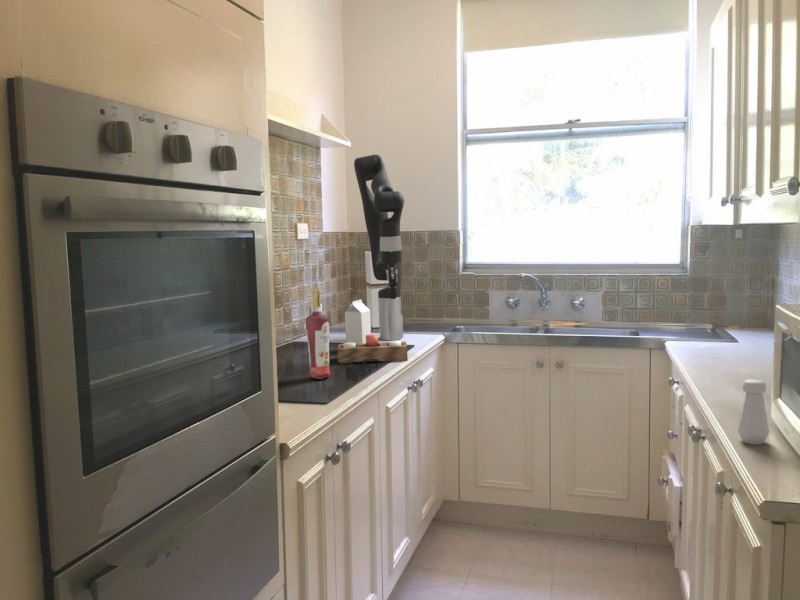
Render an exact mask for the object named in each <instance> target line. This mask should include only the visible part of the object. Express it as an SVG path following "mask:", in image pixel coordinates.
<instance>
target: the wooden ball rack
mask: <svg viewBox="0 0 800 600" xmlns="http://www.w3.org/2000/svg"><path fill="white" fill-rule="evenodd" d="M378 344H379V345H378V346H366V343H356V347H351V348H343V343H339V344H338V346H337V363H338V362H349V361H352V362H353V361H363V360H367V359H378V360H379V361H382V362H383V363H384V362H385V363H386V362H406V361H407V362H408V360H409V359H408V345H407V342H406V340H404V341H401V345H399V346H389V341H383V342H382V341H381V342H379V341H378ZM382 362H381V363H382Z"/></svg>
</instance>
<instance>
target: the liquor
mask: <svg viewBox="0 0 800 600" xmlns="http://www.w3.org/2000/svg"><path fill="white" fill-rule="evenodd" d="M311 297H312V308H311V309H312V311H311V314H310V315H309V316H307V317H306V318H305V329H306V330H305V331H306V339H307V340H306V341H307V348H308V361H309V374H308V376H309V377H310V378H312V379H313V378H324V377H328V376H331V374H332V373H331V371H330V317H329V316H327V314H324V313H323V312H322V305H321V304H322V303H321V289H320V288H312V289H311ZM328 378H329V377H328Z"/></svg>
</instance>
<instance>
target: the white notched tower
mask: <svg viewBox="0 0 800 600" xmlns="http://www.w3.org/2000/svg"><path fill="white" fill-rule="evenodd" d="M364 255H365V257H364V260H365V281H366V283H365V286H366V307H367V308H368V309H369V310H370V322H371V333H380V330H379V304H378V291H379V290H381V289H384V288H386V287H388V286H389V285H388V281H387V280H377V279H376V278H375V276H374V273H373V267H372V257H371V251H364Z"/></svg>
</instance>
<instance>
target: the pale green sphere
mask: <svg viewBox="0 0 800 600" xmlns="http://www.w3.org/2000/svg"><path fill="white" fill-rule="evenodd" d="M342 344H343V348H351V347H356V343H353V342H348V343H346V342H343V343H342Z"/></svg>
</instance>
